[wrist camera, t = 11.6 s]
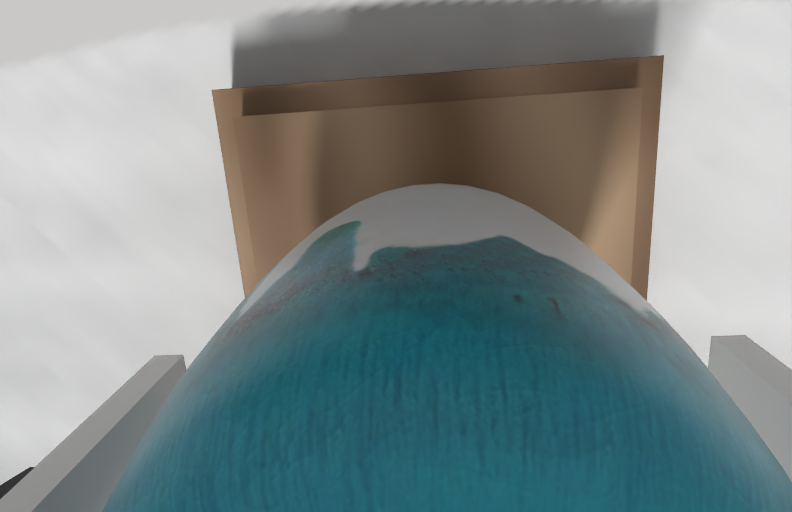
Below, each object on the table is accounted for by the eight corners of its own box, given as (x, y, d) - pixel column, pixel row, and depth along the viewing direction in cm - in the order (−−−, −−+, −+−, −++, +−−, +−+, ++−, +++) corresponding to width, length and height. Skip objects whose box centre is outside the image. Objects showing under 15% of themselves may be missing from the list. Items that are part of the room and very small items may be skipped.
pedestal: (283, 432, 26) (264, 474, 23) (231, 90, 21) (200, 89, 18) (619, 425, 24) (645, 469, 21) (641, 59, 20) (676, 52, 17)
